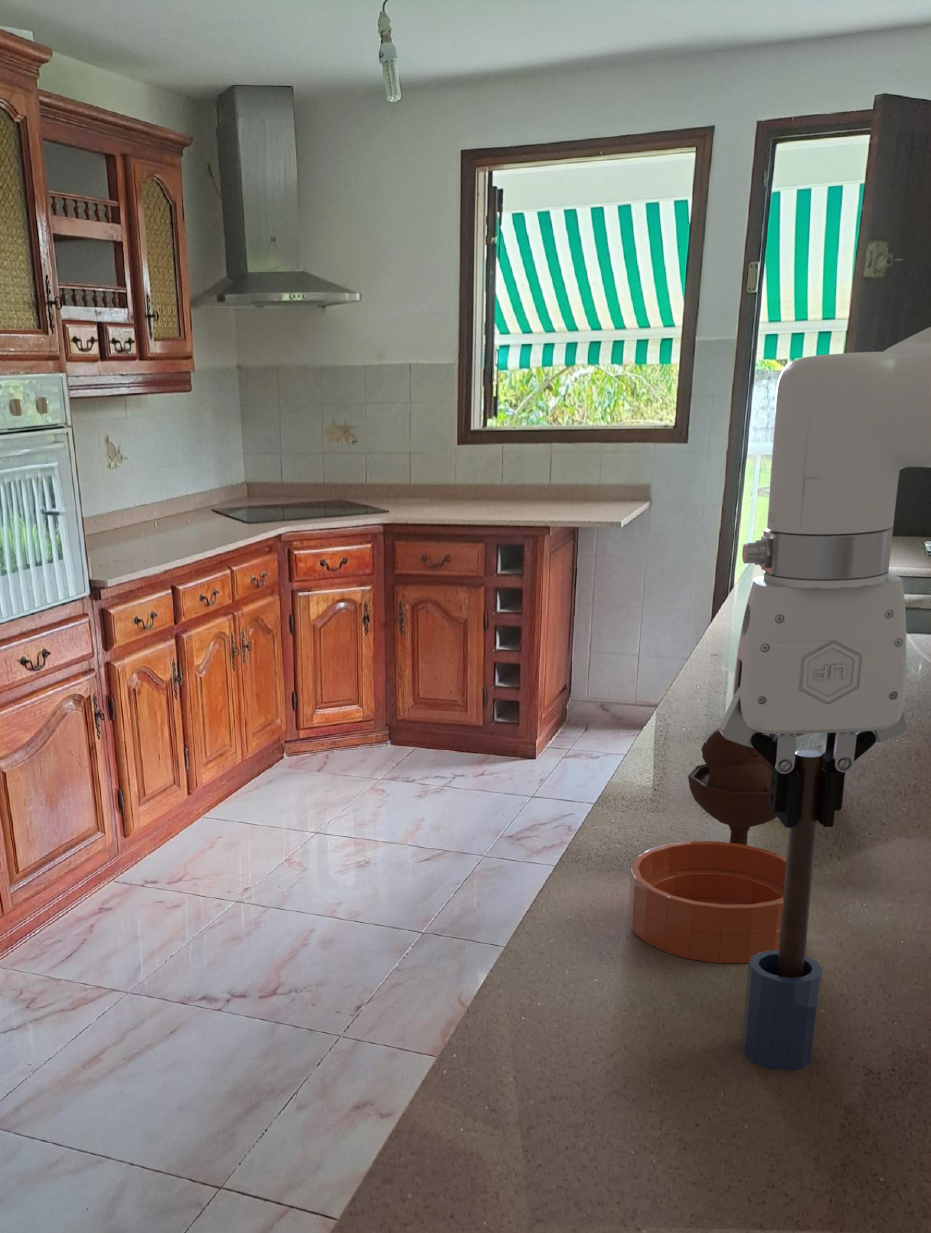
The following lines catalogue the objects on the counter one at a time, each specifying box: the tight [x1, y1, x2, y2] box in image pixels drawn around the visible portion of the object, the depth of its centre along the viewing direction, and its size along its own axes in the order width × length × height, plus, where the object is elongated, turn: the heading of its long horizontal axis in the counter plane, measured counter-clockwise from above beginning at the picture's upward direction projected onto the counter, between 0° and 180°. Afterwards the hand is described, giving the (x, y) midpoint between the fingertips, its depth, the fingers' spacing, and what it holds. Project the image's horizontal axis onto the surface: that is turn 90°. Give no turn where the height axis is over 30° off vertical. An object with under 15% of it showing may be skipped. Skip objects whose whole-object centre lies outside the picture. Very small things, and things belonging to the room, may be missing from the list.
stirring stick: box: [777, 750, 823, 978], centre depth 83 cm, size 2×2×18 cm
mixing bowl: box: [628, 840, 787, 964], centre depth 108 cm, size 15×15×6 cm
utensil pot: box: [741, 950, 824, 1071], centre depth 87 cm, size 5×5×8 cm
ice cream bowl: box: [687, 728, 778, 846], centre depth 122 cm, size 11×11×15 cm
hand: (803, 818), depth 82 cm, fingers closed on stirring stick, 1 cm apart
